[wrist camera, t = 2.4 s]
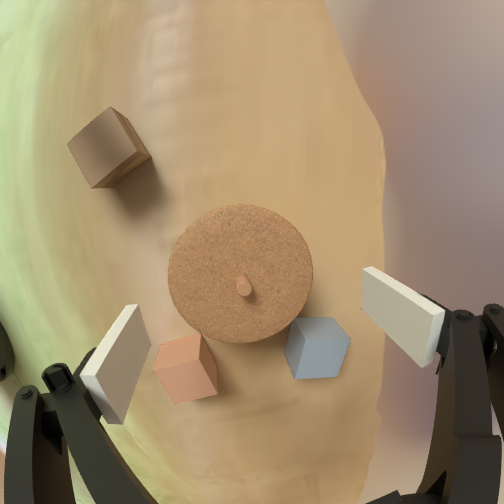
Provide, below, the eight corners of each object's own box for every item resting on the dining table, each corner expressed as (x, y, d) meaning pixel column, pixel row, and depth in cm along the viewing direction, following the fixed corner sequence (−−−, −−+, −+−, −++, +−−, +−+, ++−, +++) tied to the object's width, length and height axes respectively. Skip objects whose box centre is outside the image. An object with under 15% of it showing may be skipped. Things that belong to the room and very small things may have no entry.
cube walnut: (112, 187, 24) (91, 188, 19) (90, 149, 22) (66, 143, 18) (151, 157, 24) (137, 150, 19) (127, 119, 22) (110, 106, 18)
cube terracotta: (178, 376, 30) (174, 403, 25) (160, 344, 28) (152, 370, 23) (217, 366, 30) (218, 394, 25) (200, 332, 29) (198, 359, 24)
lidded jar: (257, 319, 29) (274, 372, 20) (164, 279, 27) (142, 322, 18) (306, 230, 27) (347, 252, 18) (210, 181, 25) (205, 177, 16)
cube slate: (284, 353, 30) (294, 379, 26) (292, 316, 29) (305, 339, 25) (322, 352, 31) (337, 376, 26) (332, 317, 30) (350, 338, 25)
